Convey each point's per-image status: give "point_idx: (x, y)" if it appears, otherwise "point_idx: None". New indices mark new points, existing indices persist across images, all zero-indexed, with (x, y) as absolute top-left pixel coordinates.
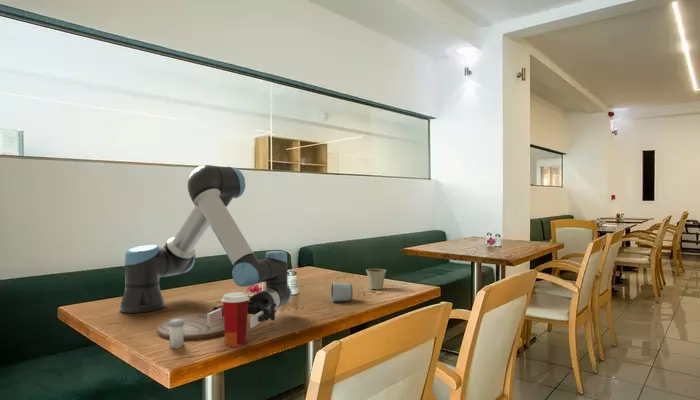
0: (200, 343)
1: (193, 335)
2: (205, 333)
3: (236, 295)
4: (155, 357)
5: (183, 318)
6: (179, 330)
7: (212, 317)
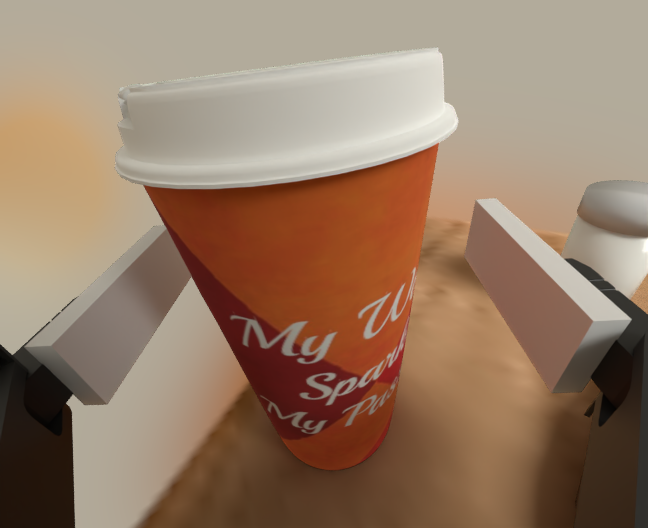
0: (521, 359)
1: None
2: None
3: (257, 69)
4: None
5: None
6: (570, 232)
7: (483, 248)
